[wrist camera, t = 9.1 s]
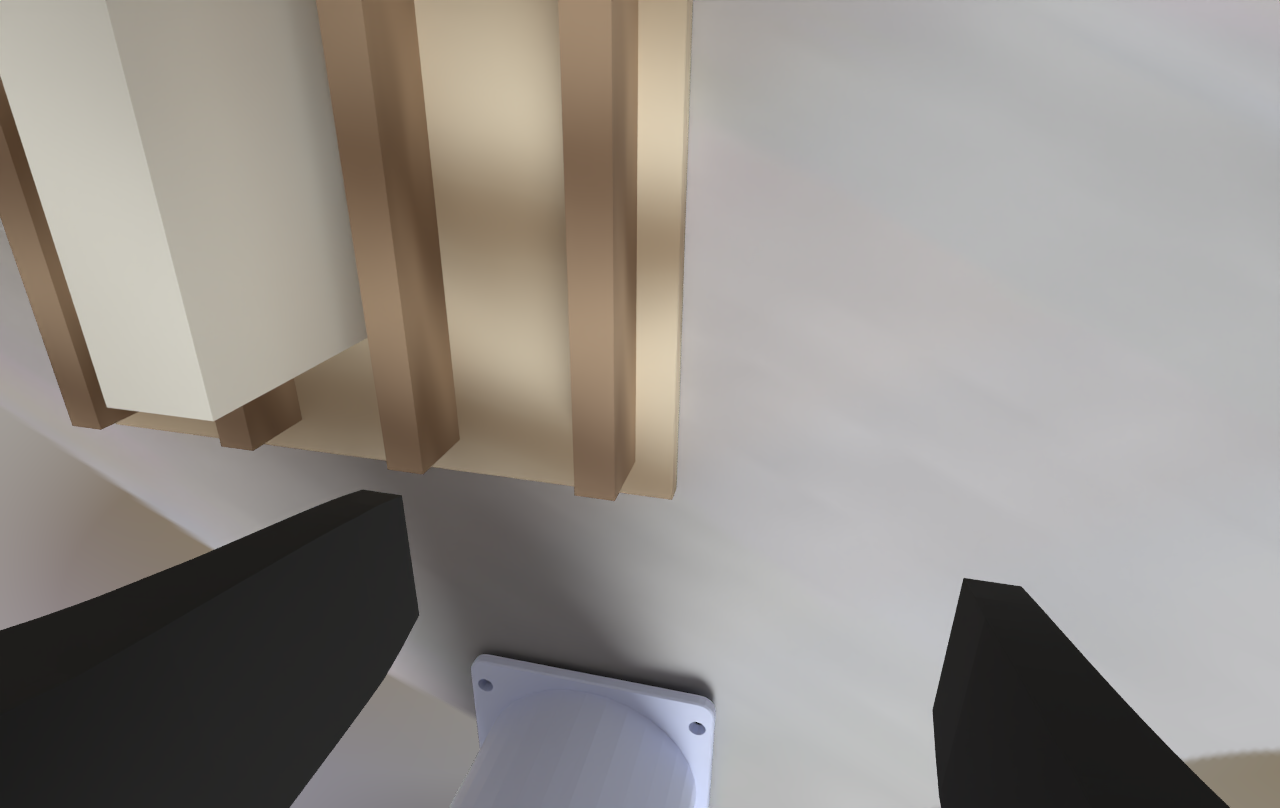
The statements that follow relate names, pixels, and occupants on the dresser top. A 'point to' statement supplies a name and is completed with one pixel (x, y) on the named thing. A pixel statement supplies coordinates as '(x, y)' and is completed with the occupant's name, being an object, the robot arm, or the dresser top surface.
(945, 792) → the robot arm
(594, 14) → the dish rack
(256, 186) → the cream slab
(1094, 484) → the dresser top surface
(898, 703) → the dresser top surface
